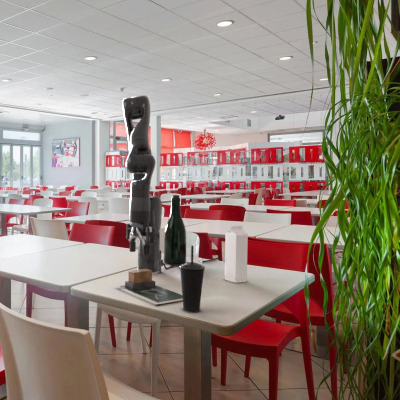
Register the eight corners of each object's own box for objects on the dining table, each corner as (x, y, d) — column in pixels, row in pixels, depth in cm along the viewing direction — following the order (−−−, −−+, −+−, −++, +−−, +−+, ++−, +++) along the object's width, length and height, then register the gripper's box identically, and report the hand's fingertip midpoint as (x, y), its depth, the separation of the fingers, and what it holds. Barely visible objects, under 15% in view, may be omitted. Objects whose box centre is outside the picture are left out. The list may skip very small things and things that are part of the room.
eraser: (147, 283, 158) (147, 268, 158) (155, 286, 154) (155, 270, 154) (125, 286, 154) (125, 270, 153) (132, 290, 149) (132, 273, 149)
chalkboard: (147, 284, 161) (147, 281, 161) (190, 300, 140) (190, 297, 140) (116, 288, 155) (116, 285, 155) (157, 306, 134) (157, 303, 134)
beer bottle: (159, 263, 202) (160, 194, 201) (172, 260, 209) (173, 194, 208) (177, 266, 195) (178, 195, 193) (190, 263, 202) (191, 194, 200)
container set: (190, 268, 190) (190, 256, 189) (202, 269, 188) (202, 257, 187) (181, 278, 172) (181, 264, 171) (194, 279, 169) (194, 266, 169)
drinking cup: (175, 306, 133) (176, 244, 132) (198, 306, 134) (199, 243, 133) (183, 314, 126) (184, 247, 125) (208, 313, 126) (209, 247, 125)
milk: (246, 281, 166) (248, 226, 165) (235, 283, 164) (236, 227, 163) (235, 278, 172) (237, 224, 171) (223, 279, 169) (225, 225, 168)
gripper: (160, 210, 148) (159, 255, 149) (137, 207, 161) (136, 250, 162) (142, 210, 145) (141, 257, 145) (120, 208, 158) (120, 251, 158)
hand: (139, 253), depth 154 cm, fingers open, 8 cm apart
